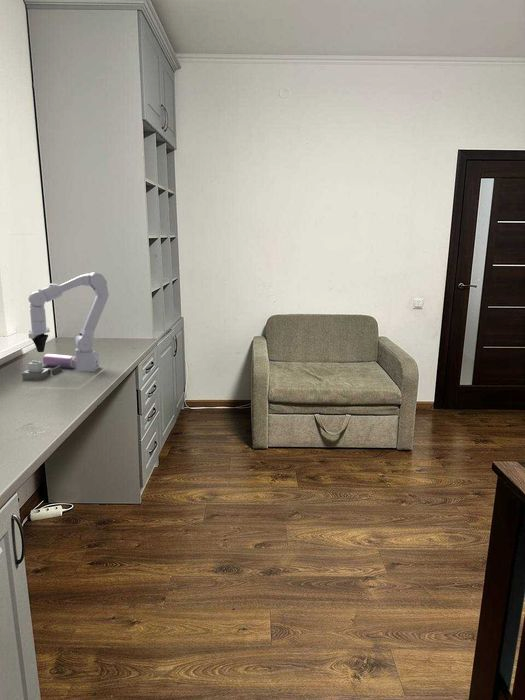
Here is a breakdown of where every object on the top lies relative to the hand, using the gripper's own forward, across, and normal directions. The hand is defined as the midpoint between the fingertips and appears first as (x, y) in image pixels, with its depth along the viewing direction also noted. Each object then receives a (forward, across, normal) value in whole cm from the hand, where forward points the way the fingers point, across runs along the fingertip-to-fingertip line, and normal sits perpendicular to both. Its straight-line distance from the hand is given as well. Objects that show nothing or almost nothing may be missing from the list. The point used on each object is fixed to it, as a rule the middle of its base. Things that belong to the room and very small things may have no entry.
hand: (40, 351), depth 206 cm
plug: (+9, +7, +1) cm, 11 cm away
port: (+10, +7, +1) cm, 12 cm away
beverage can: (+7, -13, -4) cm, 15 cm away
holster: (+10, -1, +3) cm, 10 cm away
